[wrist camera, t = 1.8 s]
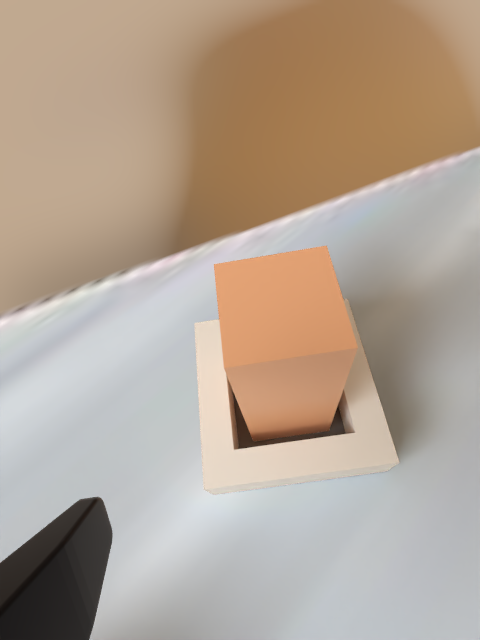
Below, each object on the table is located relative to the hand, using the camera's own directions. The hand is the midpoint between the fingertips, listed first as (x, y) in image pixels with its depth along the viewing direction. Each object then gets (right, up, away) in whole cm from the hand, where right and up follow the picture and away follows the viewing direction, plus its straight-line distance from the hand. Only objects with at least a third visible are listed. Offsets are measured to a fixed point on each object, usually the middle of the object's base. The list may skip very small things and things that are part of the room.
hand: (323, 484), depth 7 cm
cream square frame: (+1, -1, +13) cm, 13 cm away
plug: (+1, -1, +13) cm, 13 cm away
